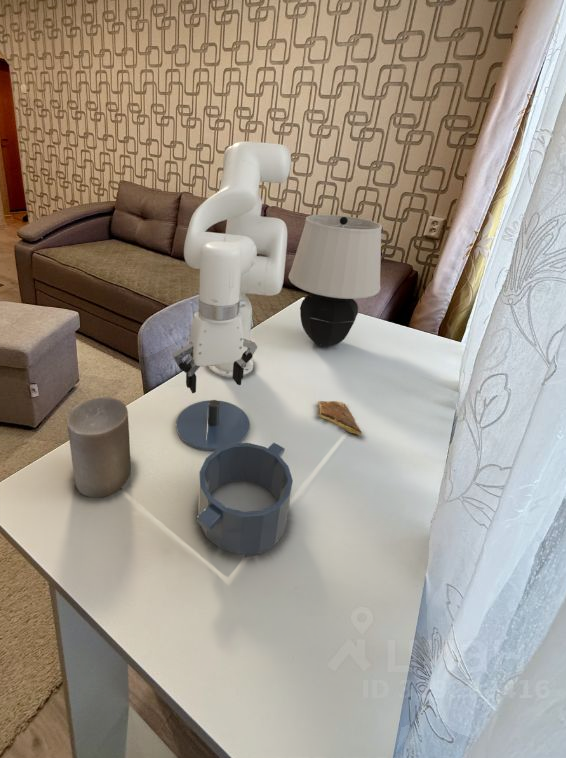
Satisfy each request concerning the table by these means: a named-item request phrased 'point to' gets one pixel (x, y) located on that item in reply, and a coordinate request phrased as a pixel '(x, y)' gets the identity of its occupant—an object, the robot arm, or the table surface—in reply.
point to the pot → (234, 526)
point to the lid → (212, 425)
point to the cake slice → (338, 415)
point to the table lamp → (335, 273)
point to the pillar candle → (99, 446)
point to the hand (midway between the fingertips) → (214, 385)
